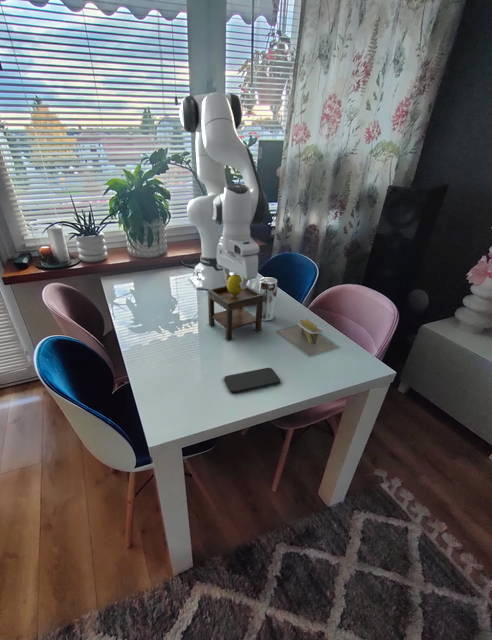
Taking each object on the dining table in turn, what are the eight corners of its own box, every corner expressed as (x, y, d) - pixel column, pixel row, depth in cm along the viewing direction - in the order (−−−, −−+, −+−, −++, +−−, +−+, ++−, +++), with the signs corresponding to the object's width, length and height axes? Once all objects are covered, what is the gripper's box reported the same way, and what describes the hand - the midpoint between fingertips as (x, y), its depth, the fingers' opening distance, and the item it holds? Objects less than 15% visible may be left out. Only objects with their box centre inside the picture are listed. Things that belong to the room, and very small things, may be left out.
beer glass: (273, 322, 123) (277, 284, 115) (255, 320, 125) (257, 283, 116) (275, 314, 129) (278, 277, 121) (257, 312, 130) (259, 276, 122)
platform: (309, 356, 104) (312, 338, 100) (277, 331, 117) (279, 315, 113) (338, 347, 108) (342, 329, 105) (303, 324, 122) (306, 308, 118)
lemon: (234, 291, 116) (234, 270, 112) (246, 296, 113) (246, 273, 109) (223, 296, 113) (223, 273, 109) (235, 300, 110) (235, 277, 105)
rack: (208, 324, 122) (207, 289, 114) (240, 316, 128) (241, 282, 120) (228, 340, 112) (228, 303, 104) (261, 330, 118) (263, 294, 110)
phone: (223, 376, 94) (270, 366, 97) (223, 378, 94) (270, 369, 98) (231, 391, 88) (281, 381, 91) (231, 394, 88) (281, 383, 92)
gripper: (211, 236, 109) (212, 276, 117) (245, 251, 94) (243, 296, 102) (227, 234, 112) (227, 273, 119) (262, 248, 97) (259, 292, 105)
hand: (235, 284), depth 111 cm, fingers open, 8 cm apart
